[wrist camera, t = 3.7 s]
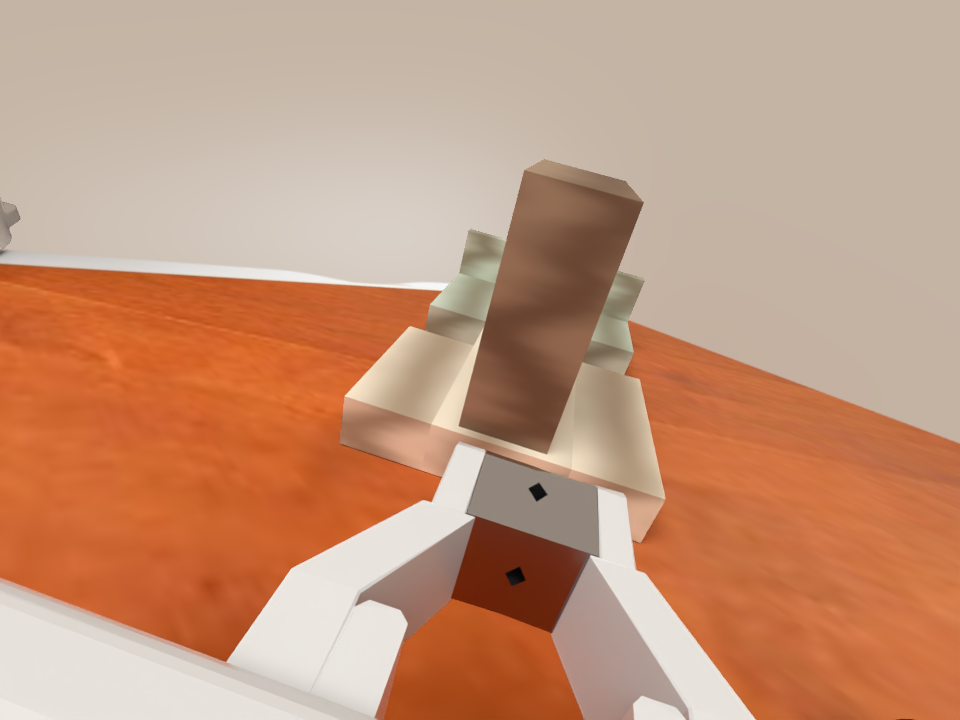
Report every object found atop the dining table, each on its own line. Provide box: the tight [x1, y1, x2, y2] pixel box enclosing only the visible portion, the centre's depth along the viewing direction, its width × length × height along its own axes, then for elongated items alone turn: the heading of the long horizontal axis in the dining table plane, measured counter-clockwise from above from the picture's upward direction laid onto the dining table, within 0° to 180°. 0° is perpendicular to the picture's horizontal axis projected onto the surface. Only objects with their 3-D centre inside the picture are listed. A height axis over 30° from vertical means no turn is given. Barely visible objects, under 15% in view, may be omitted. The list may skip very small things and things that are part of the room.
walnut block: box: [459, 159, 644, 455], centre depth 24 cm, size 4×9×12 cm, turn 168°
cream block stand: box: [340, 229, 666, 543], centre depth 32 cm, size 16×24×7 cm, turn 168°
